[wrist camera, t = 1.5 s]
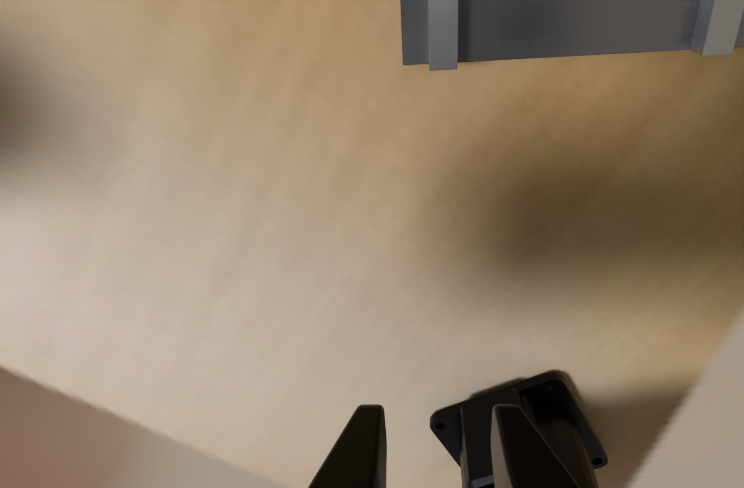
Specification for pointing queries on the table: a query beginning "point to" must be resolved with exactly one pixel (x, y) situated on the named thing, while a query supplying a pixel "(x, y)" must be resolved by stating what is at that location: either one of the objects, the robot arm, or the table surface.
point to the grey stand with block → (564, 28)
